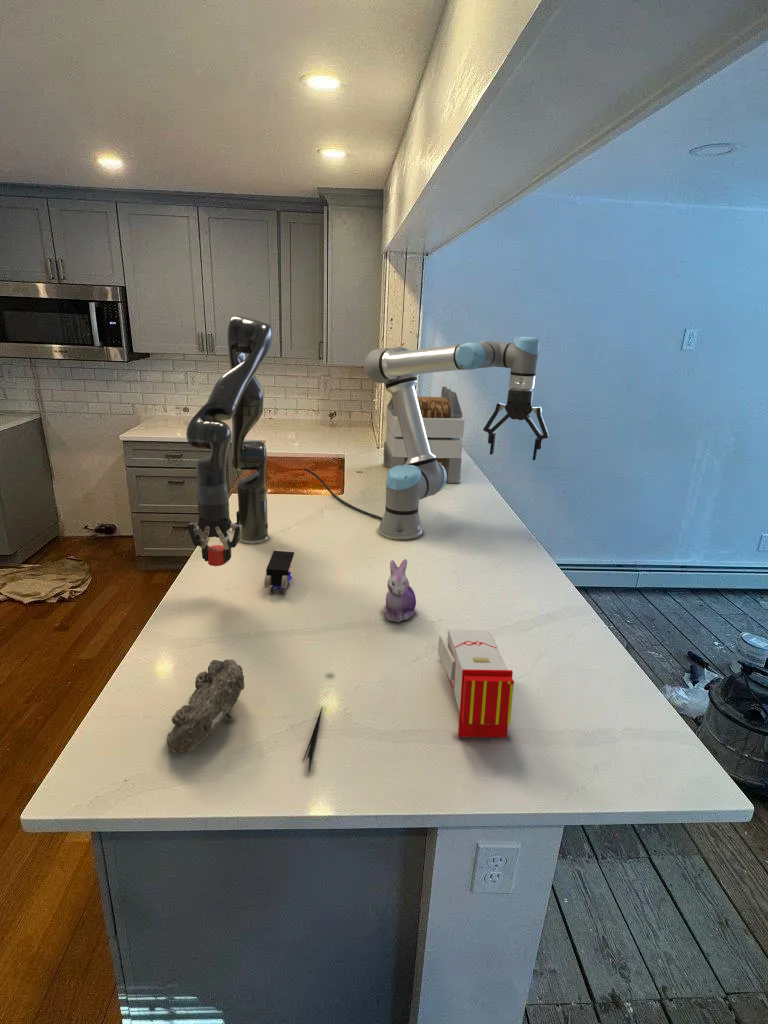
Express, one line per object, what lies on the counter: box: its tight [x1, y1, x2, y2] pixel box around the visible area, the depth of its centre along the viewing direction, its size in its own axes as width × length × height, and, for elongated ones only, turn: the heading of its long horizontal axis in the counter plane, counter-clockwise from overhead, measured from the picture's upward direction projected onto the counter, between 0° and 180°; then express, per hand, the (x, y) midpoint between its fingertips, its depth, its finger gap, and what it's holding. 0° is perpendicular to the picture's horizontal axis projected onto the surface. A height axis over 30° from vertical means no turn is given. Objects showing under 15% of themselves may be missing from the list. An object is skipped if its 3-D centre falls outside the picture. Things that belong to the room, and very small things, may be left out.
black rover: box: [264, 550, 295, 594], centre depth 159 cm, size 7×8×15 cm
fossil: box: [166, 658, 245, 754], centre depth 106 cm, size 22×10×15 cm
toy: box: [437, 628, 515, 738], centre depth 117 cm, size 12×13×30 cm
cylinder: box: [207, 544, 227, 567], centre depth 148 cm, size 5×5×4 cm
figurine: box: [384, 558, 417, 623], centre depth 145 cm, size 9×10×15 cm
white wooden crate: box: [383, 386, 465, 484], centre depth 268 cm, size 34×33×41 cm
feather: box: [301, 673, 332, 771], centre depth 108 cm, size 2×28×2 cm
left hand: (217, 560), depth 149 cm, fingers closed on cylinder, 4 cm apart
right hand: (512, 456), depth 182 cm, fingers open, 13 cm apart
